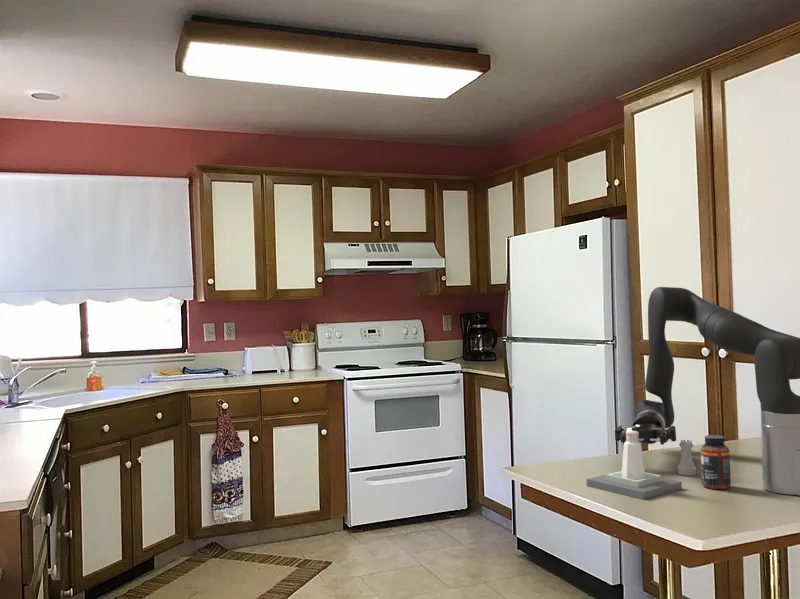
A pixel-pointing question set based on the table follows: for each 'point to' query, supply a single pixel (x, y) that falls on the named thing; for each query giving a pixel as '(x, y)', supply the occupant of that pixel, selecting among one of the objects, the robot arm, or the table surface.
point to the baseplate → (635, 485)
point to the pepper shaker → (632, 457)
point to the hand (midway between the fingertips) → (642, 440)
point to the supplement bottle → (715, 463)
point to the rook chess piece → (686, 459)
